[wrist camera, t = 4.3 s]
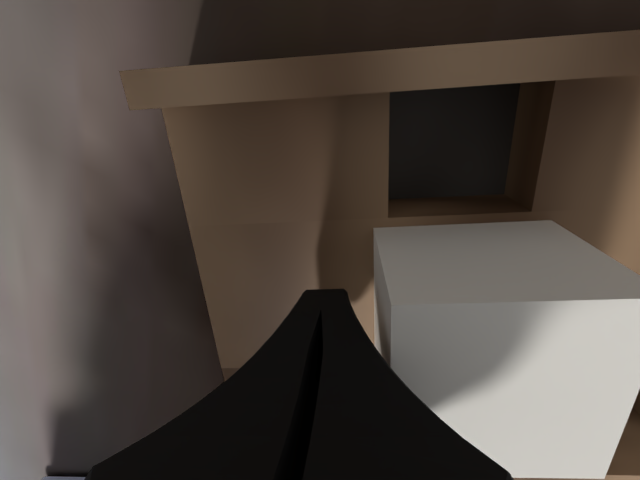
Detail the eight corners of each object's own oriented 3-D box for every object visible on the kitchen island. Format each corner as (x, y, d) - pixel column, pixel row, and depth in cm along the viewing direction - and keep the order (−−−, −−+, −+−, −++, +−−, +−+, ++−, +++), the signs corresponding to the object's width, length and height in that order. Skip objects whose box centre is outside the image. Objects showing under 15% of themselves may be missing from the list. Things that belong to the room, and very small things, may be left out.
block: (374, 360, 12) (389, 476, 9) (373, 228, 10) (391, 304, 7) (522, 358, 12) (604, 478, 8) (550, 219, 10) (675, 297, 6)
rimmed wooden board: (250, 405, 16) (228, 483, 13) (185, 76, 11) (119, 71, 8) (765, 405, 15) (886, 495, 11) (1003, 13, 9) (1365, -29, 6)
